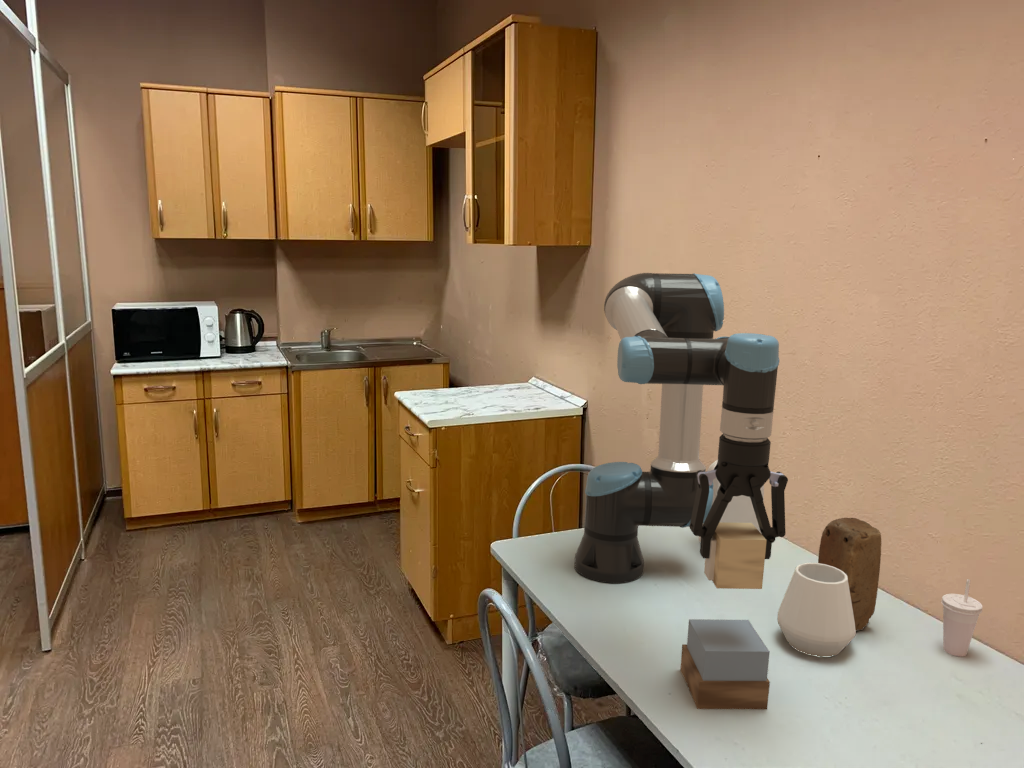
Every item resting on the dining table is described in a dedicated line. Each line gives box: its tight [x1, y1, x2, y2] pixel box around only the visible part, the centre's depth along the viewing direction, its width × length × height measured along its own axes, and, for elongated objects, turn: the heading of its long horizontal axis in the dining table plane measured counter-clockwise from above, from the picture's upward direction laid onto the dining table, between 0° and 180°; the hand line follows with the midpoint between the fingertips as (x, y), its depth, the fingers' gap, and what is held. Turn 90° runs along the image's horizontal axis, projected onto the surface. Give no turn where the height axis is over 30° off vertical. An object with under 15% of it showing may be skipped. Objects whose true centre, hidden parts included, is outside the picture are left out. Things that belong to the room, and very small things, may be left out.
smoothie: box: [940, 578, 984, 658], centre depth 139 cm, size 6×6×14 cm
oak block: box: [711, 522, 767, 590], centre depth 122 cm, size 7×7×8 cm
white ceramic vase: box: [776, 562, 857, 657], centre depth 140 cm, size 13×13×14 cm
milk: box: [698, 458, 765, 543], centre depth 180 cm, size 12×12×26 cm
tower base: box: [680, 643, 771, 710], centre depth 126 cm, size 11×11×5 cm
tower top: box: [686, 618, 770, 681], centre depth 125 cm, size 10×10×5 cm
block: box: [817, 517, 882, 632], centre depth 148 cm, size 11×8×20 cm
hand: (733, 576), depth 122 cm, fingers closed on oak block, 7 cm apart
